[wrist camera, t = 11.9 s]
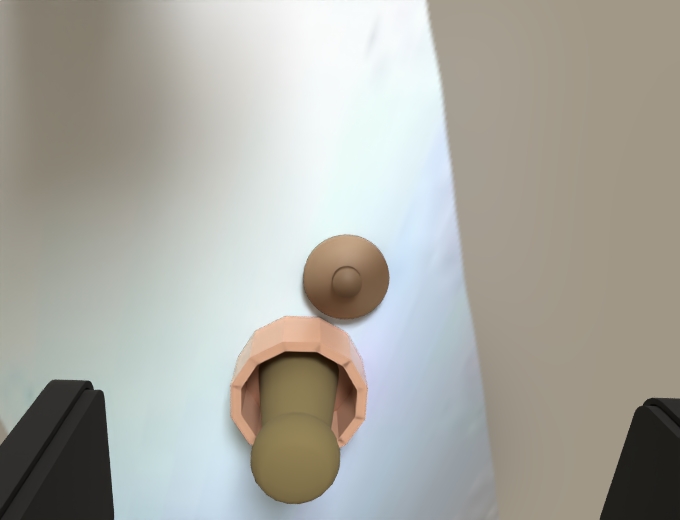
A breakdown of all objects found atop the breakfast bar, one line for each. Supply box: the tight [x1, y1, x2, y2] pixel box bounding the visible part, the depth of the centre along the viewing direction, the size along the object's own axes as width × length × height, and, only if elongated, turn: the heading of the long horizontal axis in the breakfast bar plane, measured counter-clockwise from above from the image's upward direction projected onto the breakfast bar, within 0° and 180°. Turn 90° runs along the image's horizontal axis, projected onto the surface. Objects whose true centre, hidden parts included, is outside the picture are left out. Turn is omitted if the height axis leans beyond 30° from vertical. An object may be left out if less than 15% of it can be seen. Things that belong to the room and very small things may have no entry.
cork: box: [251, 351, 340, 504], centre depth 35 cm, size 6×6×11 cm
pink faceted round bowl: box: [231, 316, 368, 448], centre depth 39 cm, size 9×9×4 cm
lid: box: [304, 235, 389, 319], centre depth 37 cm, size 6×6×2 cm
